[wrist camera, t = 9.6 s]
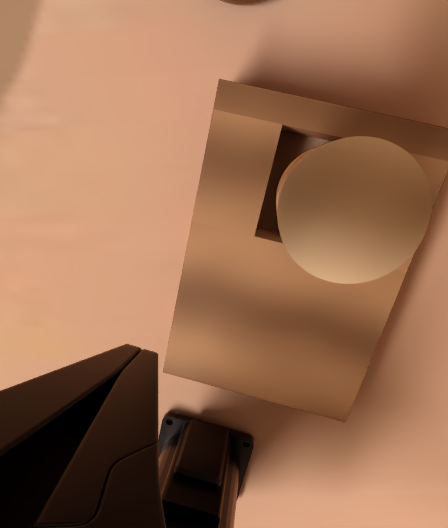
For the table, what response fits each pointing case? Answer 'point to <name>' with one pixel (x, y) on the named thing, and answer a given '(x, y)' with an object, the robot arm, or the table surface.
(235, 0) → the supplement bottle
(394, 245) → the peg
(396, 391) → the table surface
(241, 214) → the board
